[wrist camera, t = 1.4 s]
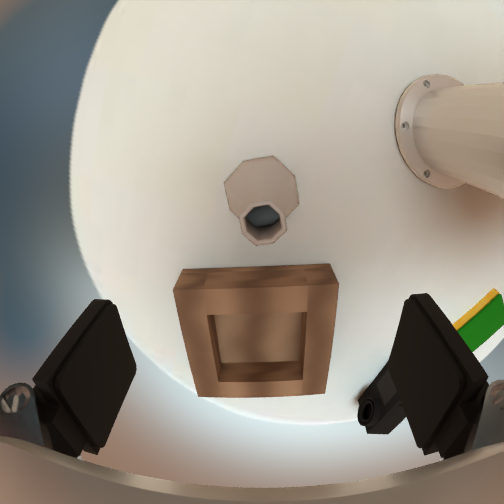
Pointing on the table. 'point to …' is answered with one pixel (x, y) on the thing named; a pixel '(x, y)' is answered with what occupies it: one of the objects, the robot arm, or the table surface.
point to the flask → (262, 198)
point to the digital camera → (380, 405)
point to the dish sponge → (481, 320)
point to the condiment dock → (258, 329)
